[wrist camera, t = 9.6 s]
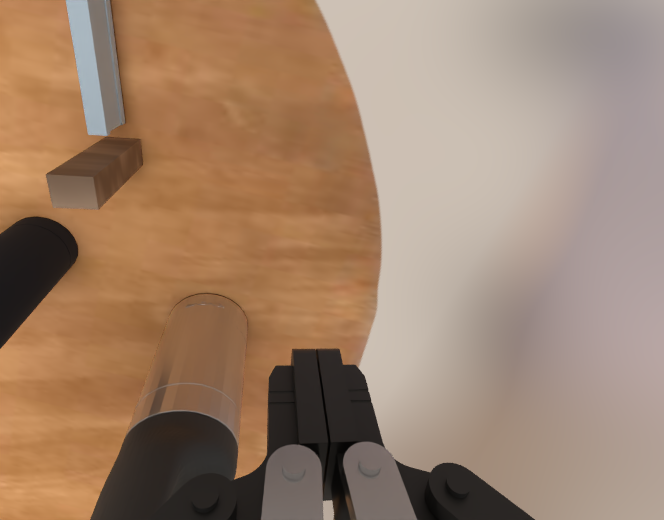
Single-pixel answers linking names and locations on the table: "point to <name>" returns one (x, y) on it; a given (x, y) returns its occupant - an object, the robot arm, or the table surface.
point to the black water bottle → (31, 268)
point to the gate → (96, 64)
